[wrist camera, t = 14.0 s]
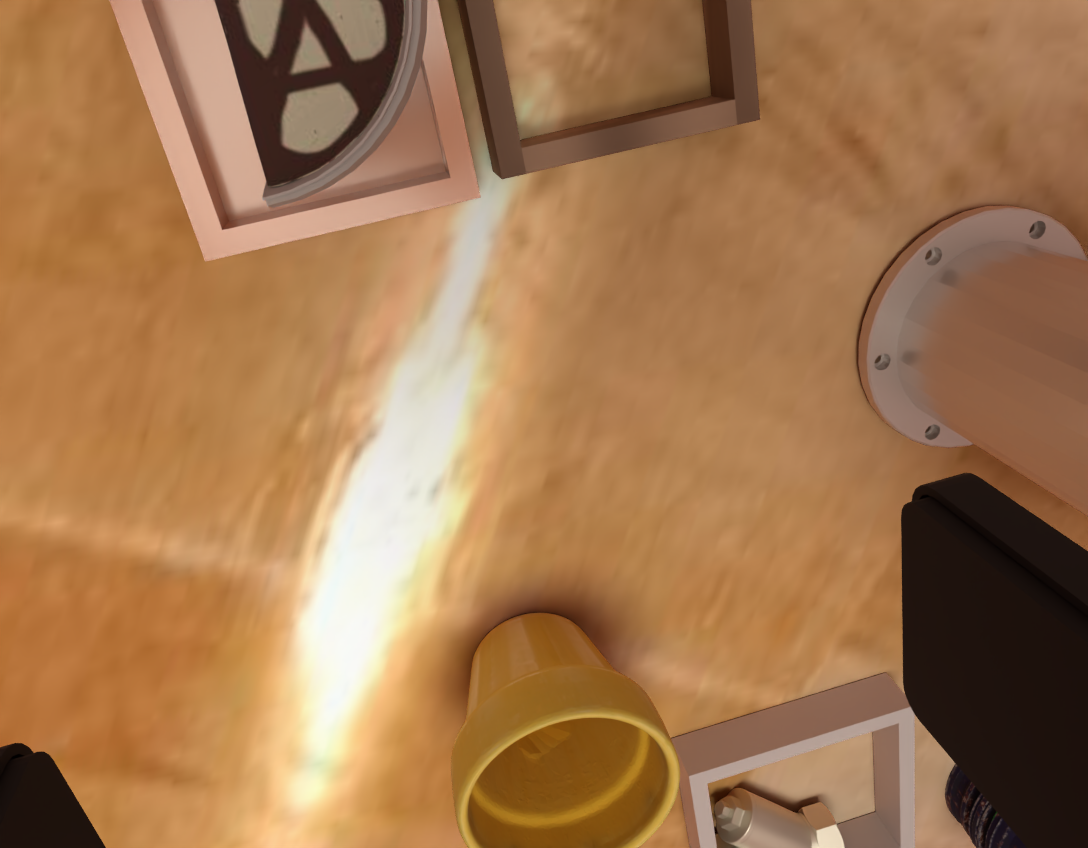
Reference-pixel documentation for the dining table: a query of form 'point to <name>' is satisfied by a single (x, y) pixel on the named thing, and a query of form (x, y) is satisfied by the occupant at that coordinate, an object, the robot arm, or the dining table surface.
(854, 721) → the grey parts rim
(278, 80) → the food container
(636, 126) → the walnut stand frame
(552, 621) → the plant pot
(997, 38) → the dining table surface
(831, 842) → the pipe fitting
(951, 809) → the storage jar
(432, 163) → the terracotta tray
